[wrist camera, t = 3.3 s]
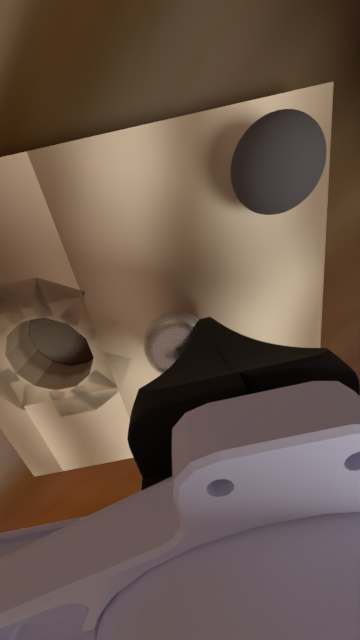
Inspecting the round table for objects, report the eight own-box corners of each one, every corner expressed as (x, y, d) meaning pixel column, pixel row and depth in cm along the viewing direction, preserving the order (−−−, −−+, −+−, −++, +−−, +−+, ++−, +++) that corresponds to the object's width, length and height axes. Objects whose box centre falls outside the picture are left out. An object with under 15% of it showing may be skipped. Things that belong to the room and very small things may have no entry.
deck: (299, 107, 11) (333, 81, 9) (297, 397, 19) (316, 422, 16) (-101, 197, 12) (-164, 194, 10) (49, 445, 19) (34, 476, 17)
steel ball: (209, 298, 12) (199, 327, 9) (217, 352, 13) (210, 393, 10) (149, 304, 13) (124, 332, 10) (162, 355, 14) (143, 393, 11)
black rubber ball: (296, 119, 10) (355, 77, 7) (296, 206, 11) (345, 204, 8) (217, 136, 10) (240, 103, 7) (226, 221, 11) (249, 224, 8)
